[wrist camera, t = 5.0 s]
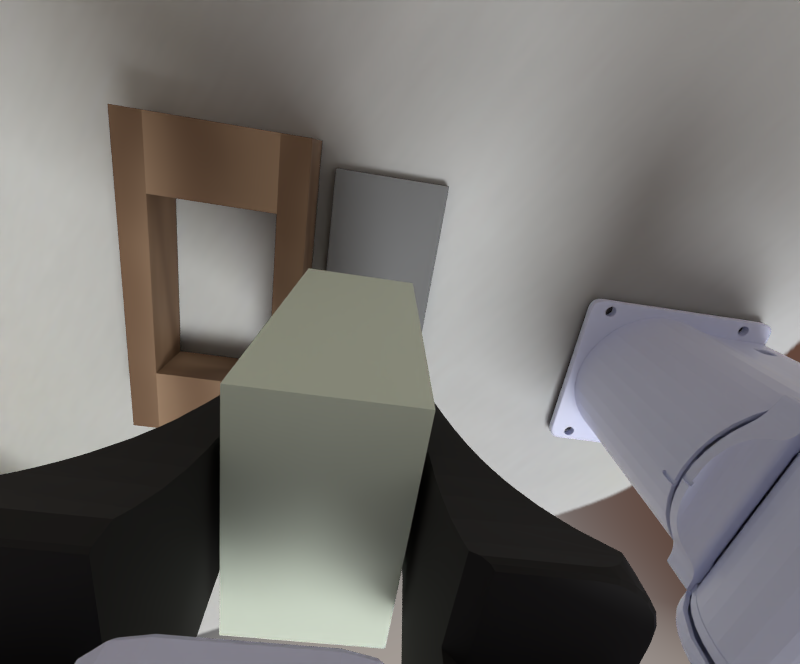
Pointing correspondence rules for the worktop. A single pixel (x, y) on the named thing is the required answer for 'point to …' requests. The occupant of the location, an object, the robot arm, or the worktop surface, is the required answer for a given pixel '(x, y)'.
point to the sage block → (323, 462)
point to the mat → (386, 229)
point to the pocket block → (157, 235)
